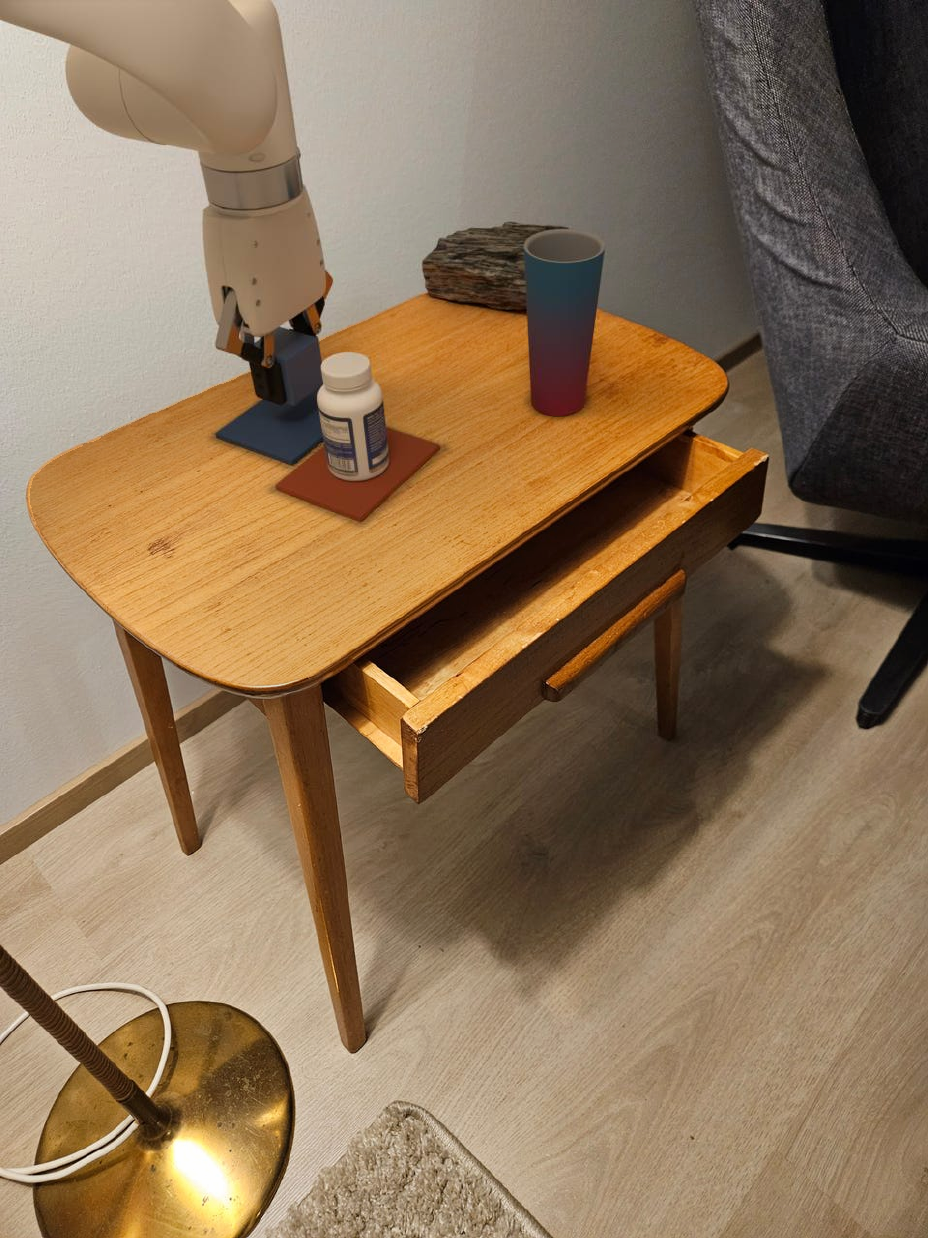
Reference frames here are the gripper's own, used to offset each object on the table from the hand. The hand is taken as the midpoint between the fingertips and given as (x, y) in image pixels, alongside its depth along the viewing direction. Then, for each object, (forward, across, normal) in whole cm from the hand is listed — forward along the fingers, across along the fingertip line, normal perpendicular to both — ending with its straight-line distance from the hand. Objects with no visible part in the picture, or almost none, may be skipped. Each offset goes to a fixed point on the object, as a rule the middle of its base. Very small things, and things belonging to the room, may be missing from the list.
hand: (290, 384), depth 87 cm
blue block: (0, 0, 0) cm, 0 cm away
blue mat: (+4, 0, 0) cm, 4 cm away
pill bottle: (+3, +4, +10) cm, 11 cm away
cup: (+4, -14, +20) cm, 25 cm away
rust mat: (+4, +4, +10) cm, 11 cm away
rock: (-2, -32, -3) cm, 32 cm away
